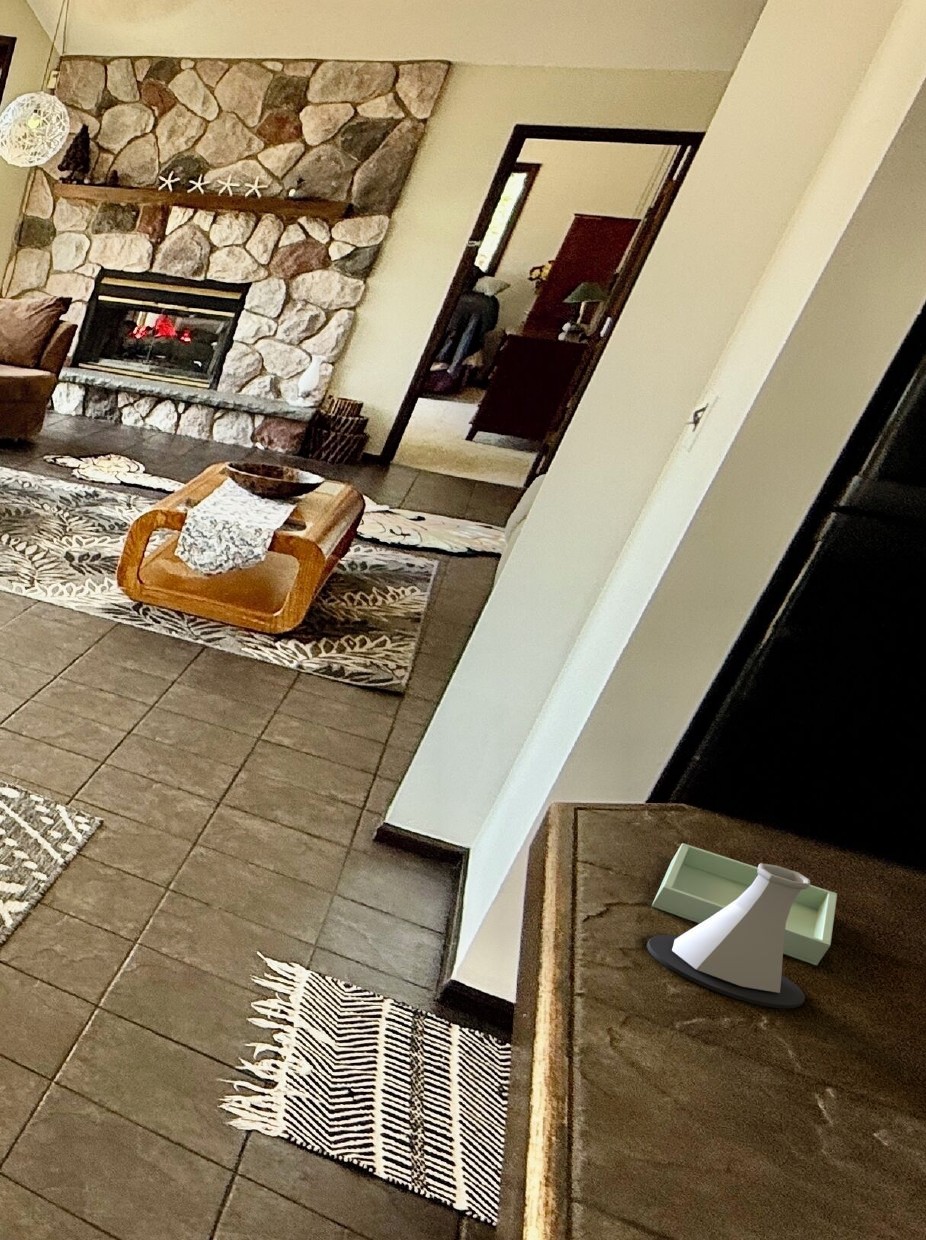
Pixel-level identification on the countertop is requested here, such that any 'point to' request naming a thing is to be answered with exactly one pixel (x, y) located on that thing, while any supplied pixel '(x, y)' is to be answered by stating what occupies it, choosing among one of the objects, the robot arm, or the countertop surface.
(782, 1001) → the mat
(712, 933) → the flask
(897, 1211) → the countertop surface
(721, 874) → the tray
